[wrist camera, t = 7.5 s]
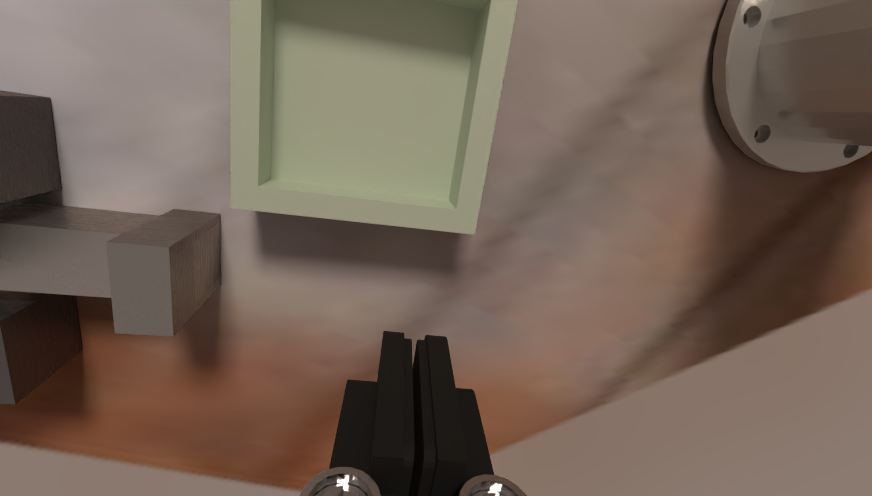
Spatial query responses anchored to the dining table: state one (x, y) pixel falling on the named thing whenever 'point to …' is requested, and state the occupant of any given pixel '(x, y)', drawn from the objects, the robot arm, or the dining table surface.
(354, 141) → the tray
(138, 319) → the grey stepped block
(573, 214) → the dining table surface
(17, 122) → the socket
